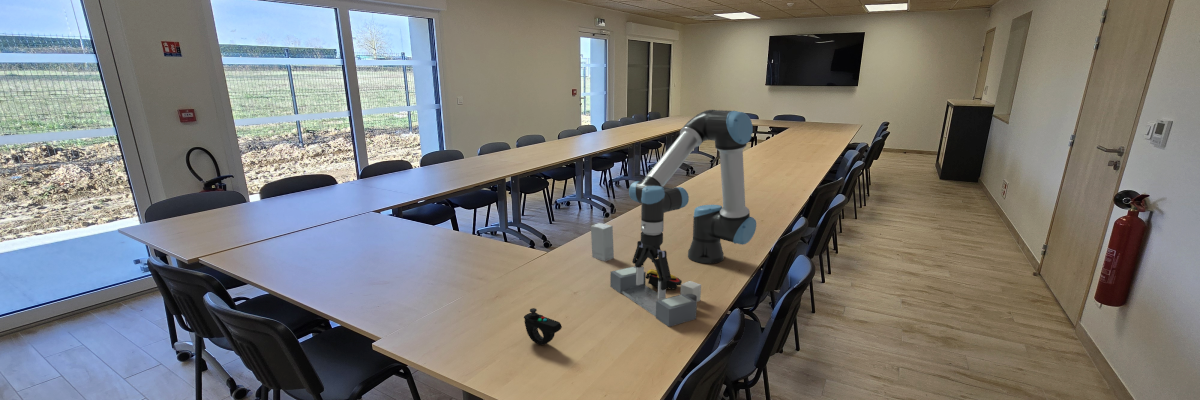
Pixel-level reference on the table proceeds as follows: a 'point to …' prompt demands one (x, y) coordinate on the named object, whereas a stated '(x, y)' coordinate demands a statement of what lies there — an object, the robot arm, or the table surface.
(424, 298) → the table surface
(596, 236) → the skincare box
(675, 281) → the gadget
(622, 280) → the block
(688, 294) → the dark grey pebble
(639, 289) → the rail
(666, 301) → the block
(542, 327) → the controller
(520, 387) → the table surface
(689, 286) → the block
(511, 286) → the table surface
